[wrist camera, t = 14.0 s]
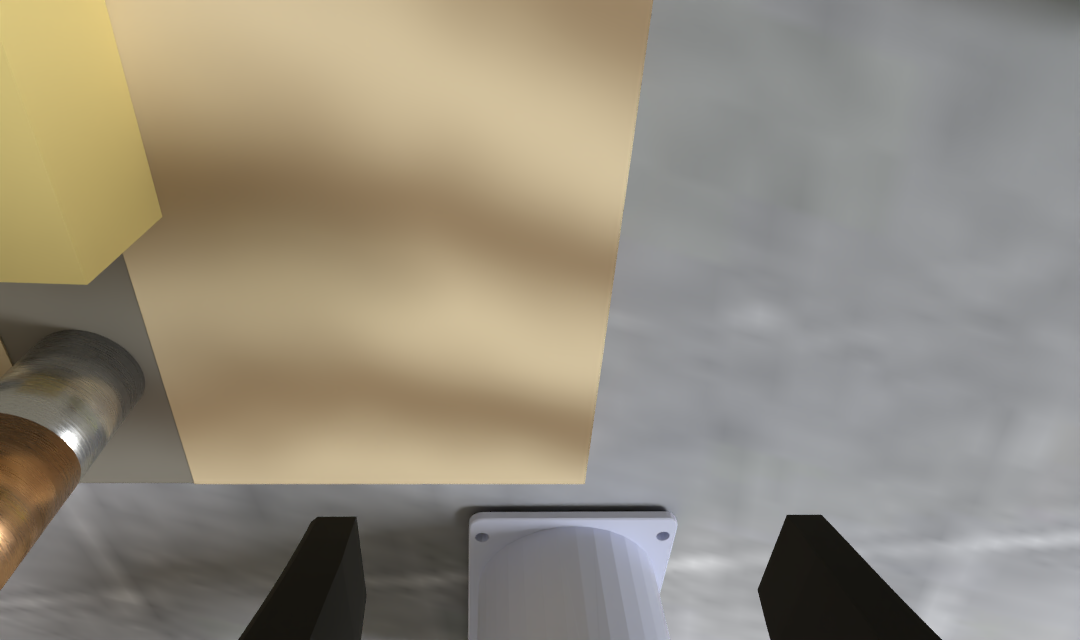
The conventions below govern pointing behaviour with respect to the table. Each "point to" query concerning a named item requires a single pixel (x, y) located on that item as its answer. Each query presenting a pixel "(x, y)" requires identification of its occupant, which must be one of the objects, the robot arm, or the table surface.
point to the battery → (56, 428)
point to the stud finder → (67, 145)
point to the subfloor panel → (363, 239)
